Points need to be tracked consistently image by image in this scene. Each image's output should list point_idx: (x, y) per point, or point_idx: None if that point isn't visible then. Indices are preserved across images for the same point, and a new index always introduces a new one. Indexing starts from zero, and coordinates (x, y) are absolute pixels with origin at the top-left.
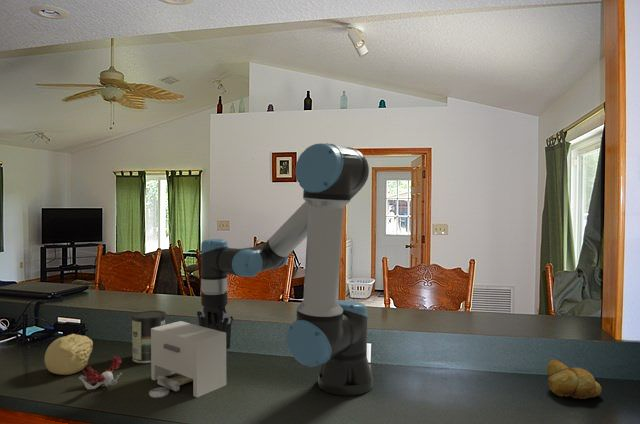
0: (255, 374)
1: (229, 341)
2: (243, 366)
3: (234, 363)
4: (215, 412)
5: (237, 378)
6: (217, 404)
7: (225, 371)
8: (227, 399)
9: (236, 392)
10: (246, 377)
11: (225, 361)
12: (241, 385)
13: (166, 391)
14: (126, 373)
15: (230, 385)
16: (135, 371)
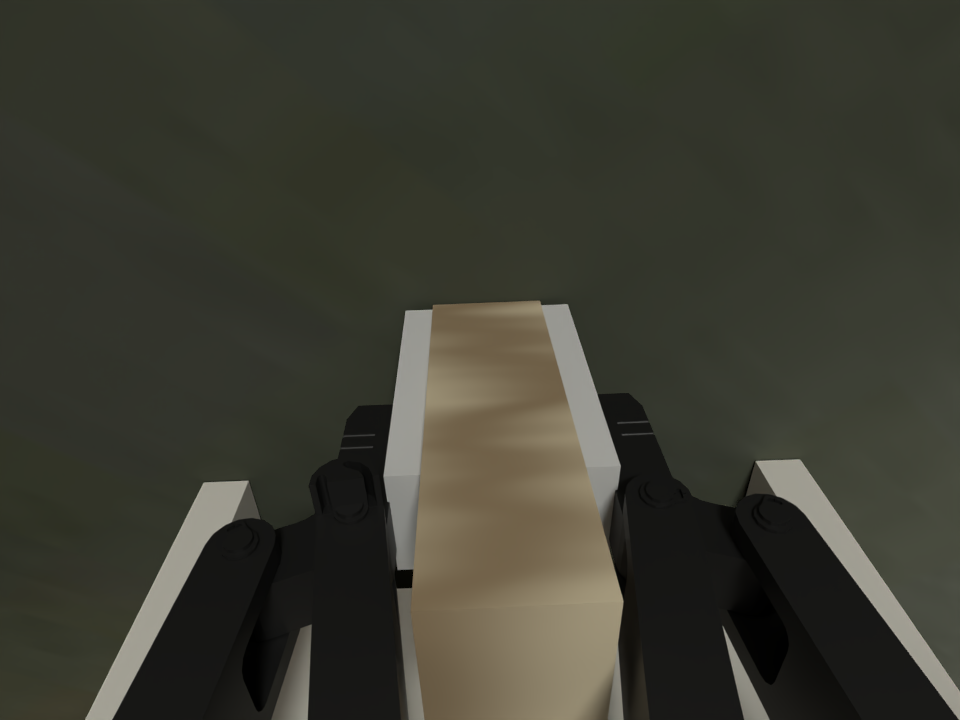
0: (943, 139)
1: (864, 614)
2: (655, 40)
3: (475, 41)
4: (953, 663)
5: (808, 326)
6: (913, 622)
7: (859, 558)
8: (940, 567)
9: (949, 487)
10: (882, 259)
11: (921, 648)
12: (926, 397)
13: None
14: (54, 688)
15: (834, 444)
16: (47, 655)
